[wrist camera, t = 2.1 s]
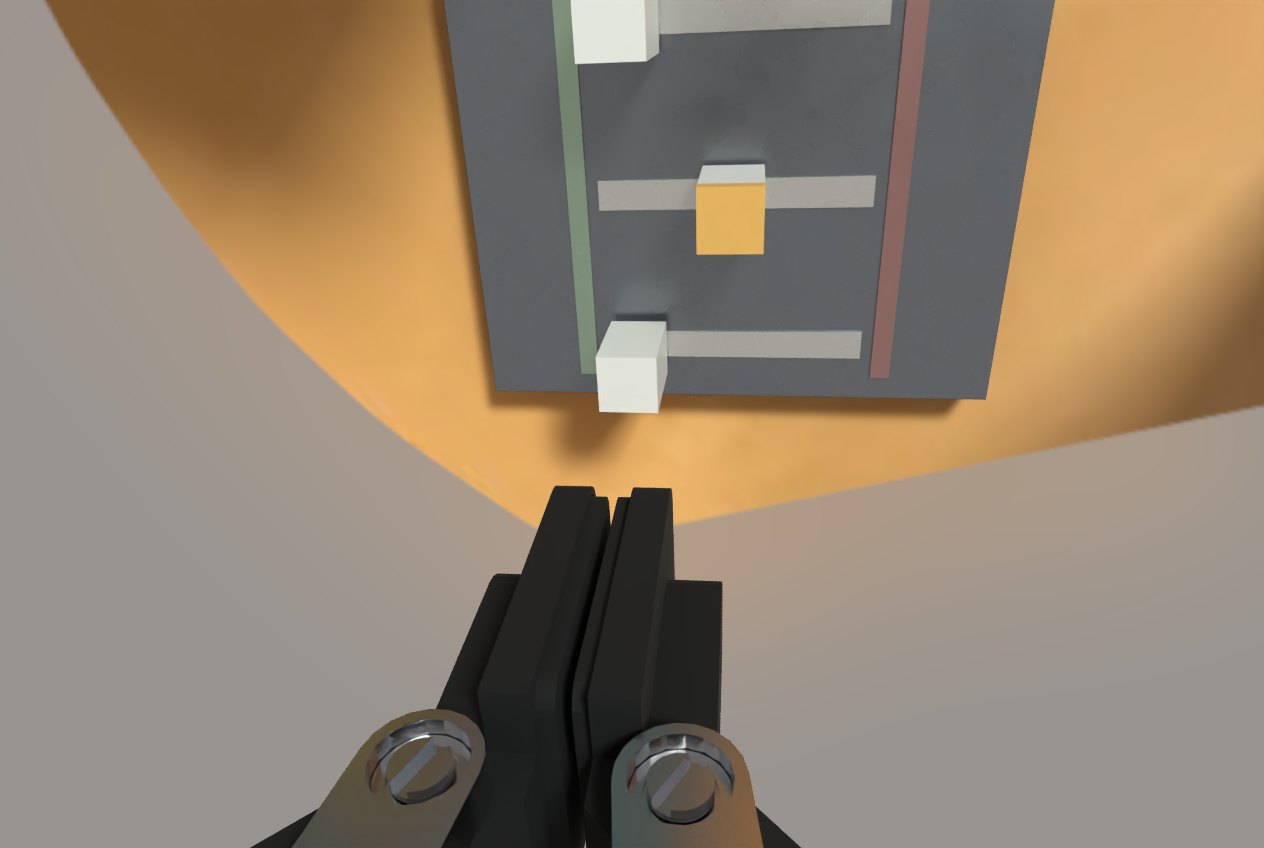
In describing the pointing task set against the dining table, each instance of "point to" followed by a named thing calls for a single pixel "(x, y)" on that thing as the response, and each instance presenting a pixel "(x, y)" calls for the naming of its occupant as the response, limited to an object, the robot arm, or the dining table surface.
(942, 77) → the panel
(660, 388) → the block
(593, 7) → the block
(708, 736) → the robot arm
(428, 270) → the dining table surface
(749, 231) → the block
